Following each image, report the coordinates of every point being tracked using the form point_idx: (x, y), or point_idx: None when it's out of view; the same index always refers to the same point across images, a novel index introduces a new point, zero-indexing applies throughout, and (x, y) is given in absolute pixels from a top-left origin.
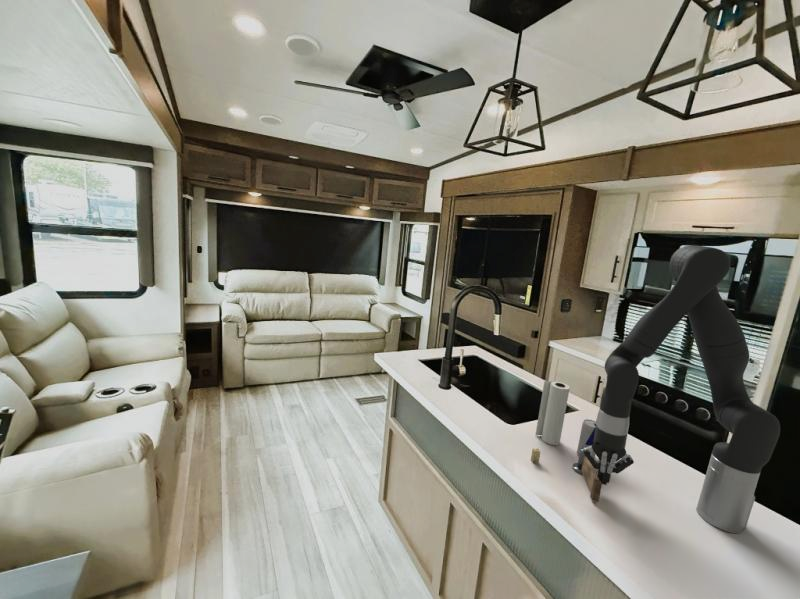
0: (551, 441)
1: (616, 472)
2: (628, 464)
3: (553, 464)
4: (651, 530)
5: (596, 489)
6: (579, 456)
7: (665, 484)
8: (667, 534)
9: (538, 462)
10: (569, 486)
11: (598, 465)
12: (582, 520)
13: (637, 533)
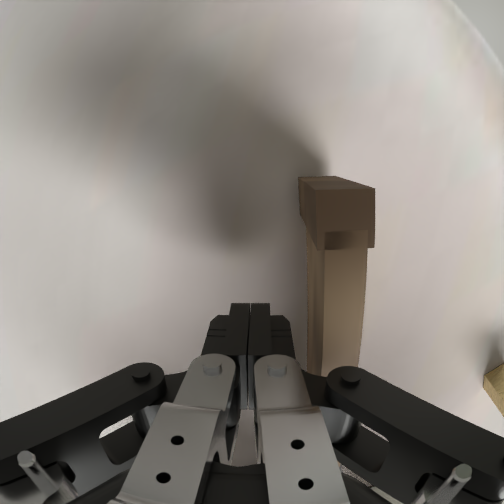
0: (387, 494)
1: (147, 366)
2: (16, 428)
3: (430, 396)
4: (75, 96)
5: (340, 184)
6: (341, 468)
7: (26, 398)
8: (30, 112)
9: (485, 375)
10: (419, 270)
11: (322, 405)
12: (400, 25)
13: (142, 38)
